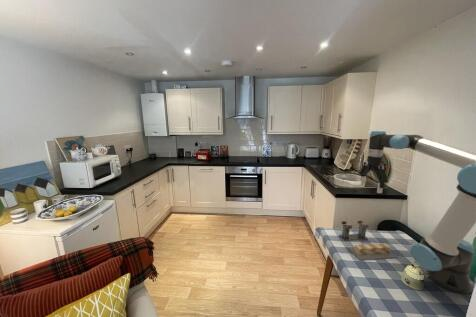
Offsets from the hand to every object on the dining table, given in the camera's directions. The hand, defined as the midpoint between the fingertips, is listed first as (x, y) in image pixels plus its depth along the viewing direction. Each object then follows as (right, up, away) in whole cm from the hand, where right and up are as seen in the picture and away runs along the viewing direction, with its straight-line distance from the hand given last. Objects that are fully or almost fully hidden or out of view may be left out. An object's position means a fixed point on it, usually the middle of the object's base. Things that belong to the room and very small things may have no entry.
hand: (370, 189), depth 122 cm
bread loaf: (-2, -37, -5) cm, 38 cm away
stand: (-4, -35, +12) cm, 37 cm away
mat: (-2, -38, -5) cm, 38 cm away
